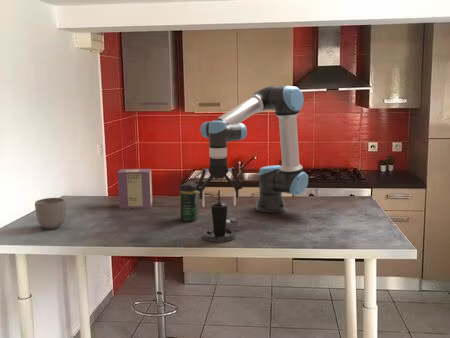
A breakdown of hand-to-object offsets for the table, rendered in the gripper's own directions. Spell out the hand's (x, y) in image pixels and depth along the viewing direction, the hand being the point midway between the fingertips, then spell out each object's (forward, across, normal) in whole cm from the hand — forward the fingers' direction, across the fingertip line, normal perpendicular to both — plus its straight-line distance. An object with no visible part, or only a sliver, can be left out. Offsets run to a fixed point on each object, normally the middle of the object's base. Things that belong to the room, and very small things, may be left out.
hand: (219, 205), depth 228 cm
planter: (+14, +77, -26) cm, 83 cm away
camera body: (+15, -5, -11) cm, 19 cm away
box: (+15, +40, -61) cm, 74 cm away
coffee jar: (+15, +12, -31) cm, 36 cm away
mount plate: (+14, 0, 0) cm, 14 cm away
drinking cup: (+14, 0, 0) cm, 14 cm away
